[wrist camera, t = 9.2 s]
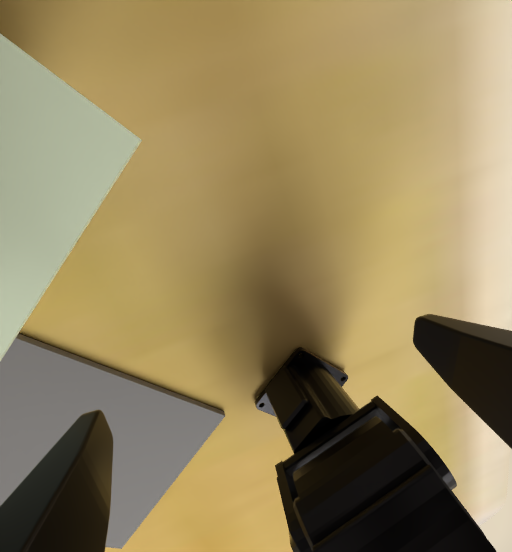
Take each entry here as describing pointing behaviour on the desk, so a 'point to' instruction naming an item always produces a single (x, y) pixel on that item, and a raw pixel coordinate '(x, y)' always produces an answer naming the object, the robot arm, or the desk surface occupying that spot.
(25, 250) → the lid
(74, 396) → the mat
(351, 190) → the desk surface
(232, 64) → the desk surface
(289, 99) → the desk surface
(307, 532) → the robot arm
